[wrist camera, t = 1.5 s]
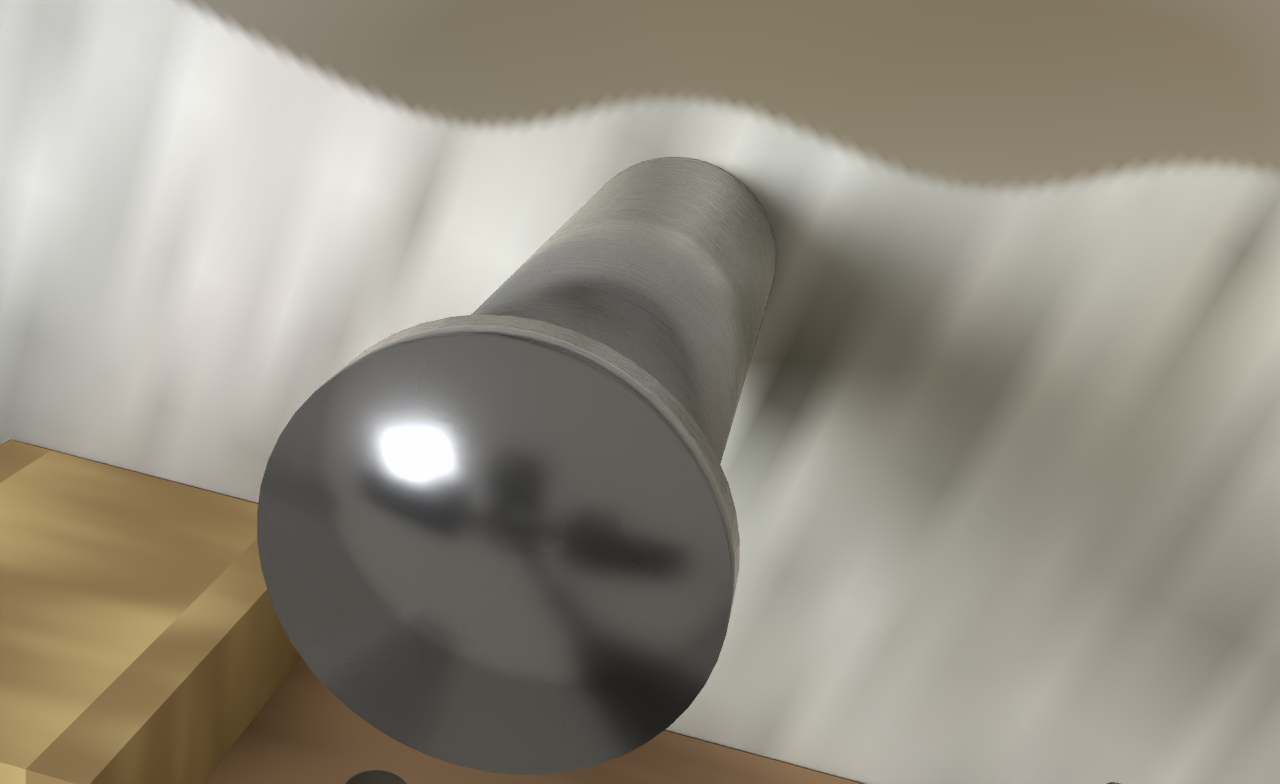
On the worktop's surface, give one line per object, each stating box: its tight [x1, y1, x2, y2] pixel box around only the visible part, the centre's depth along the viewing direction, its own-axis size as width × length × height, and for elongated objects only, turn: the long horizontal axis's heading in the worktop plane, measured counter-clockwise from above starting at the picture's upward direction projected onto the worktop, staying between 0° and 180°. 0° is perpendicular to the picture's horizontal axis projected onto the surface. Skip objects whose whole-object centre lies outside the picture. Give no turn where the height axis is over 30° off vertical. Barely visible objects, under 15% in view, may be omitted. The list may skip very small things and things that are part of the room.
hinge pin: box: [257, 157, 776, 775], centre depth 14 cm, size 4×4×10 cm
